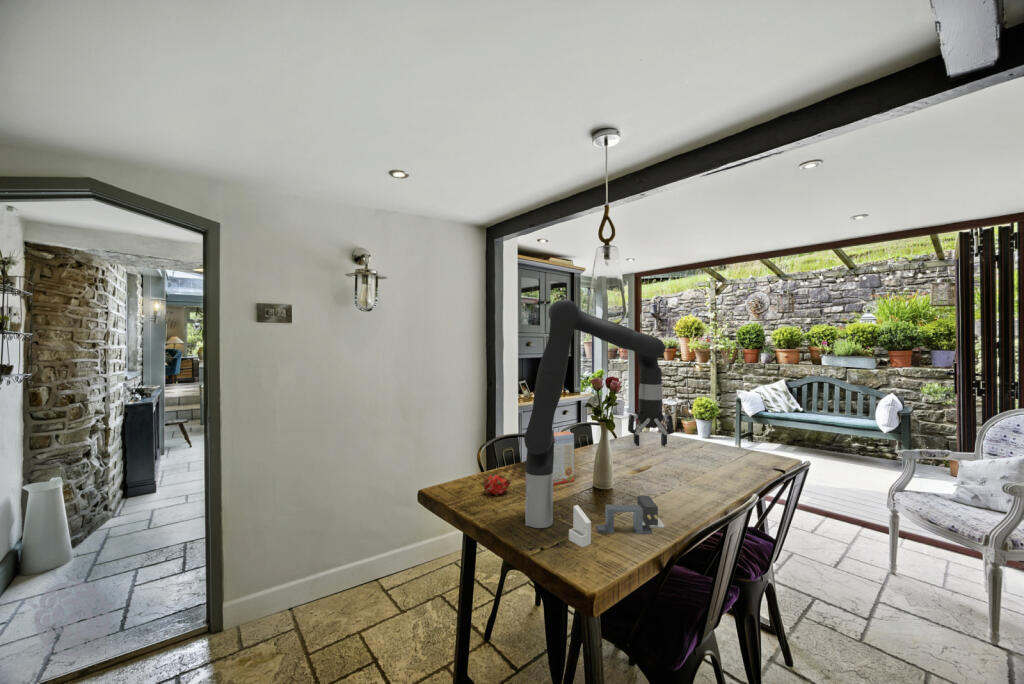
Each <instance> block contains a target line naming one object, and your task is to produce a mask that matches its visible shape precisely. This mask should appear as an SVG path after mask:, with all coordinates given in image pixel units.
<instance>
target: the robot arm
mask: <svg viewBox="0 0 1024 684" xmlns="http://www.w3.org/2000/svg"><path fill="white" fill-rule="evenodd" d="M548 319H549V320H550V326H549V335H548V339H547V343H546V346H545V348H544V351H543V353H542V356H541V359H540V362H539V365H538V370H537V375H536V379H535V386H534V394H533V401H532V403H533V404H532V409H531V414H530V418H529V422H528V424H527V428H526V431H525V433H524V438H523V442H524V445H525V448H526V460H525V497H524V498H525V500H524V503H525V514H524V516H525V518H524V519H525V526H526V527H530V528H534V529H547V528H549V527H551V526H552V525H553V523H554V485H553V463H554V433H555V432H554V430H553V426H554V417H555V415H556V411H557V408H558V406H559V405H558V404H559V402H560V400H561V396H562V394H563V390H564V385H565V381H566V375H567V370H568V365H569V357H570V348H571V343H572V339H573V335H574V331H579V332H582V333H585V334H589V335H590V336H592V337H595V338H597V339H600V340H602V341H604V342H606V343H608V344H610V345H613V346H616V347H619V348H622V349H624V350H626V351H627V350H628V351H632V352H634V353H636V355H637V360H638V361H637V362H638V366H639V367H638V368H639V386H638V413H637V414H633V413H630V414H628V422H627V424H628V425H627V431H628V432H629V433H630V434H632V435H633V443H634V445H635V446H636V447H639V446H640V433H641V432H642V431H643V430H644V428H645V429H656V428H657V429H658V430H659V431H660V433H661V434H660V445H661V446H662V447H666V445H667V444H668V435H669V434H673V433H674V426H673V424H674V421H673V416H672V415H671V414H669V413H667V414H663V397H664V395H663V385H662V384H663V382H662V380H663V379H662V376H663V372H662V369H661V367H660V366H659V361H658V359H660V358H661V357H662V356H664V354H665V352H666V346H665V343H664V342H663V340H661V338H658V337H656V336H653V335H650V334H647V333H643V332H639V331H636V330H634V329H632V328H630V327H628V326H625V325H622V324H620V323H616V322H614V321H610V320H607V319H604V318H600V317H597V316H594V315H592V314H589V313H586V312H584V311H583V310H581V309H579V308H578V306H577V304H576V303H575V302H574V301H572V300H570V299H565V298H564V299H559V300H556V301H554V302H553V303H552V304H551V305H550V307H549V308H548ZM637 420H638V424H637V425H636V427H635V422H636V421H637ZM663 420H664V421H665V422H666V429H665V427H664V426H663V425H662V422H663ZM634 427H635V428H634Z"/></svg>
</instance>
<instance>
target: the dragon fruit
mask: <svg viewBox="0 0 1024 684" xmlns="http://www.w3.org/2000/svg"><path fill="white" fill-rule="evenodd" d="M510 485H511V481H510V480H509V479H508V478H506V477H503V475H502V474H501V473H500V474H498V475H497V474H496V473H494V474H492V475H490V474H488V475H487V477H485V479H483V484H482V487H483V489H484V492H485V493H489V494H490V495H491V496H492V495H495V496H499V495H501V494H502V495H504V494H506V491H507V490H508V488H509V487H510Z"/></svg>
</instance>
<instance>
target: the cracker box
mask: <svg viewBox="0 0 1024 684" xmlns="http://www.w3.org/2000/svg"><path fill="white" fill-rule="evenodd" d="M553 433H554V463H553V486H556V485H561V484H565V483H571V482H575V433H573V432H570V431H568V430H566V431H557V432H553Z"/></svg>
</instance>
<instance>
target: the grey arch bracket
mask: <svg viewBox="0 0 1024 684" xmlns="http://www.w3.org/2000/svg"><path fill="white" fill-rule="evenodd" d="M604 506H605V507H604V508H605V509H604V510H605V511H604V512H605V513H604V514H605V516H604V517H605V518H604V521H605V522H604V523H605V524H601V523H600V524H595V528H596V531H597V534H614V533H615V513H631V512H633V514H632V518H633V519H632V528H633V530H634V532H635V534H636V535H653V530H652V528H650V527H649V525H643V510H642V508H641V507H640V505H637V504H605V505H604Z"/></svg>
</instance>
